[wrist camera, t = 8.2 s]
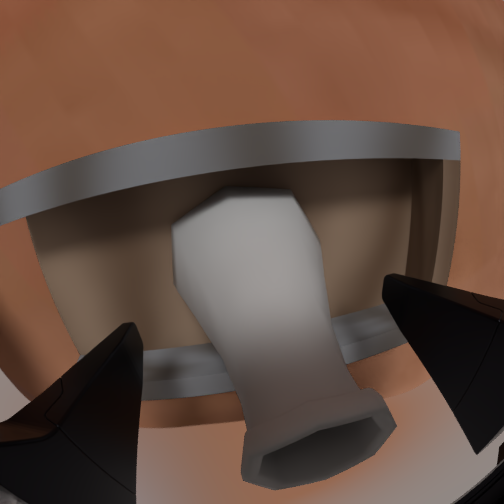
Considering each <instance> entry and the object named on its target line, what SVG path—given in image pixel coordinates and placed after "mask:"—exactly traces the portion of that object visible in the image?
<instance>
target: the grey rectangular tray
mask: <svg viewBox="0 0 504 504" xmlns="http://www.w3.org/2000/svg"><path fill="white" fill-rule="evenodd" d="M225 186H233V187H256V188H275V189H290V190H291V191H292V193H293V194H294V196H295V198H296V199H297V201H298V203H299V204H300V206H301V208H302V210H303V211H304V213H305V215H306V216H307V218H308V220H309V222H310V223H311V225H312V227H313V229H314V230H315V232H316V234H317V236H318V238H319V239H320V245H321V251H322V260H323V269H324V278H325V284H326V290H327V296H328V303H329V310H330V317H331V324H332V327H333V329H334V332H335V335H336V338H337V340H338V343H339V346H340V349H341V352H342V355H343V357H344V360H345V363H346V364H349V363H352V362H355V361H358V360H361V359H364V358H367V357H370V356H373V355H376V354H379V353H381V352H384V351H387V350H389V349H392V348H395V347H397V346H400V345H402V344H405V343H407V342H408V341H407V340H406V338H405V337H404V336H403V334H402V333H401V331H400V330H399V328H398V326H397V325H396V323H395V321H394V319H393V317H392V316H391V314H390V312H389V310H388V309H387V307H386V305H385V304H384V302H383V300H382V287H383V279H384V277H385V276H386V275H388V274H392V273H396V274H400V275H404V276H408V277H412V278H417V279H421V280H425V281H429V282H433V283H437V284H441V285H445V286H447V281H448V277H449V272H450V267H451V261H452V255H453V249H454V243H455V236H456V228H457V218H458V208H459V193H460V132H458V131H452V130H446V129H440V128H433V127H426V126H418V125H409V124H399V123H387V122H371V121H345V120H312V121H284V122H268V123H256V124H245V125H236V126H227V127H219V128H212V129H205V130H198V131H192V132H186V133H180V134H175V135H169V136H164V137H159V138H154V139H150V140H145V141H141V142H137V143H132V144H128V145H124V146H120V147H116V148H113V149H109V150H105V151H102V152H98V153H95V154H92V155H88V156H85V157H82V158H79V159H76V160H72V161H69V162H66V163H64V164H61V165H58V166H55V167H52V168H50V169H47V170H44V171H42V172H39V173H36V174H34V175H31V176H29V177H27V178H24V179H22V180H19V181H17V182H15V183H12V184H10V185H8V186H6V187H4V188H1V189H0V225H3V224H6V223H9V222H11V221H14V220H17V219H20V218H23V217H26V220H27V224H28V228H29V231H30V235H31V238H32V242H33V245H34V248H35V252H36V255H37V258H38V261H39V264H40V267H41V269H42V272H43V275H44V278H45V280H46V283H47V286H48V288H49V291H50V293H51V295H52V298H53V300H54V303H55V305H56V307H57V310H58V312H59V314H60V316H61V318H62V320H63V323H64V325H65V327H66V329H67V331H68V333H69V335H70V337H71V339H72V341H73V343H74V345H75V346H76V348H77V350H78V352H79V354H80V357H79V359H78V361H79V360H80V359H82V358H83V357H84V356H85V355H86V354H87V353H88V352H90V351H91V350H92V349H93V348H94V347H95V346H97V345H98V344H99V343H100V342H101V341H102V340H104V339H105V338H106V337H107V336H108V335H109V334H111V333H112V332H113V331H114V330H115V329H117V328H118V327H119V326H120V325H121V324H123V323H127V322H134V323H135V324H136V326H137V328H138V331H139V333H140V336H141V338H142V341H143V346H144V350H143V389H142V398H141V401H144V400H161V399H174V398H185V397H194V396H203V395H211V394H218V393H225V392H231V391H236V390H235V388H234V386H233V383H232V381H231V379H230V376H229V374H228V371H227V369H226V366H225V364H224V362H223V359H222V358H221V356H220V355H219V353H218V352H217V350H216V349H215V347H214V345H213V344H212V342H211V341H210V339H209V338H208V336H207V335H206V333H205V332H204V330H203V328H202V327H201V325H200V324H199V322H198V320H197V319H196V317H195V316H194V314H193V313H192V311H191V310H190V309H189V307H188V306H187V304H186V303H185V301H184V300H183V298H182V297H181V296H180V294H179V293H178V291H177V289H176V288H175V286H174V284H173V266H172V237H171V225H172V224H173V223H174V222H176V221H177V220H178V219H180V218H181V217H183V216H184V215H185V214H187V213H188V212H189V211H191V210H192V209H194V208H195V207H196V206H198V205H199V204H201V203H202V202H203V201H205V200H206V199H208V198H209V197H211V196H212V195H213V194H215V193H216V192H218V191H219V190H221V189H222V188H224V187H225ZM78 361H77V362H78Z"/></svg>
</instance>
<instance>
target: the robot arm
mask: <svg viewBox="0 0 504 504" xmlns="http://www.w3.org/2000/svg"><path fill="white" fill-rule="evenodd" d="M382 300H383V302H384V304H385V305H386V307H387V309H388V310H389V312H390V314H391V316H392V317H393V319H394V321H395V323H396V325H397V326H398V328H399V330H400V331H401V333H402V334H403V336H404V337H405V338H406V340H407V341H408V343H409V344H410V346H411V347H412V349H413V350H414V352H415V353H416V355H417V356H418V358H419V359H420V361H421V362H422V364H423V365H424V367H425V368H426V370H427V371H428V373H429V374H430V376H431V377H432V379H433V381H434V382H435V384H436V385H437V387H438V388H439V390H440V392H441V393H442V395H443V397H444V398H445V400H446V402H447V403H448V405H449V407H450V408H451V410H452V412H453V413H454V416H455V417H456V419H457V421H458V422H459V424H460V426H461V428H462V430H463V431H464V433H465V435H466V437H467V439H468V440H469V443H470V445H471V446H472V448H473V450H474V452H475V453H476V454H479V453H480V452H481V451H482V450H483V449H484V448H486V447H487V446H488V445H489V444H490V443H491V442H492V441H493V440H494V439H496V438H497V437H498V436H499V435H500V434H501V433H502V432H503V431H504V300H503V299H498V298H493V297H489V296H485V295H480V294H476V293H473V292H468V291H465V290H461V289H457V288H453V287H449V286H445V285H441V284H437V283H433V282H429V281H425V280H421V279H417V278H412V277H408V276H404V275H400V274H396V273H392V274H388V275H386V276H385V277H384V279H383V287H382ZM143 350H144V346H143V341H142V338H141V336H140V333H139V331H138V328H137V326H136V324H135V323H134V322H127V323H123V324H121V325H120V326H119V327H118V328H117V329H115V330H114V331H113V332H112V333H111V334H109V335H108V336H107V337H106V338H105V339H104V340H102V341H101V342H100V343H99V344H98V345H97V346H95V347H94V348H93V349H92V350H91V351H90V352H88V353H87V354H86V355H85V356H84V357H83V358H82V359H80V360H79V361H78V362H77V363H76V364H75V365H74V366H72V367H71V368H70V369H69V370H68V371H67V372H66V373H65V374H63V375H62V376H61V378H59V379H58V380H57V381H55V382H54V383H53V384H52V385H51V386H50V387H49V388H47V389H46V390H45V391H44V392H43V393H41V394H40V395H39V396H38V397H36V398H35V399H34V400H33V401H31V402H30V403H29V404H27V405H26V406H25V407H24V408H22V409H21V410H20V411H18V412H17V413H16V414H15V415H13V416H12V417H11V418H9V419H8V420H6V421H3V422H0V504H136V466H137V465H136V464H137V445H138V430H139V418H140V408H141V398H142V389H143ZM452 504H504V442H503V443H502V445H501V446H500V447H499V454H498V461H497V466H496V467H495V468H494V469H493V470H492V471H491V472H490V473H489V474H488V475H486V476H485V477H484V478H483V479H482V480H481V481H480V482H478V483H477V484H476V485H475V486H474V487H472V488H471V489H470V490H469V491H467V492H466V493H465V494H464V495H462V496H461V497H460V498H458V499H457V500H456V501H454V502H453V503H452Z"/></svg>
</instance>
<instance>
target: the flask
mask: <svg viewBox="0 0 504 504" xmlns="http://www.w3.org/2000/svg"><path fill="white" fill-rule="evenodd" d="M171 237H172V266H173V284H174V286H175V288H176V289H177V291H178V293H179V294H180V296H181V297H182V298H183V300H184V301H185V303H186V304H187V306H188V307H189V309H190V310H191V311H192V313H193V314H194V316H195V317H196V319H197V320H198V322H199V324H200V325H201V327H202V328H203V330H204V332H205V333H206V335H207V336H208V338H209V339H210V341H211V342H212V344H213V345H214V347H215V349H216V350H217V352H218V353H219V355H220V356H221V358H222V359H223V362H224V364H225V366H226V369H227V371H228V374H229V376H230V379H231V381H232V383H233V386H234V388H235V390H236V393H237V395H238V397H239V400H240V402H241V404H242V409H243V414H244V418H245V423H246V427H247V431H246V433H245V436H244V446H243V455H242V464H241V475H242V479H243V481H246V482H248V483H252V484H255V485H258V486H261V487H265V488H268V489H272V490H279V489H285V488H290V487H296V486H300V485H305V484H309V483H314V482H317V481H322V480H326V479H328V478H330V477H332V476H335V475H337V474H339V473H341V472H343V471H345V470H347V469H349V468H351V467H353V466H355V465H357V464H359V463H360V462H363V461H364V460H366V459H368V458H370V457H371V456H373V455H375V453H376V452H377V451H378V450H379V449H380V447H381V446H382V445H383V444H384V442H385V441H386V440H387V438H388V437H389V436H390V435H391V433H392V432H393V431H394V429H395V428H396V427H397V425H396V423H395V421H394V419H393V417H392V415H391V413H390V411H389V409H388V407H387V405H386V403H385V401H384V399H383V398H382V396H381V395H380V394H379V393H378V392H376V391H375V390H374V389H372V388H366V389H362V390H360V388H359V387H358V386H357V384H356V383H355V381H354V379H353V378H352V376H351V374H350V372H349V371H348V369H347V366H346V363H345V360H344V357H343V355H342V352H341V349H340V346H339V343H338V340H337V338H336V335H335V332H334V329H333V327H332V324H331V317H330V310H329V303H328V296H327V290H326V284H325V278H324V269H323V260H322V251H321V245H320V239H319V238H318V236H317V234H316V232H315V230H314V229H313V227H312V225H311V223H310V222H309V220H308V218H307V216H306V215H305V213H304V211H303V210H302V208H301V206H300V204H299V203H298V201H297V199H296V198H295V196H294V194H293V193H292V191H291V190H290V189H275V188H256V187H233V186H225V187H224V188H222V189H221V190H219V191H218V192H216V193H215V194H213V195H212V196H211V197H209V198H208V199H206V200H205V201H203V202H202V203H201V204H199V205H198V206H196V207H195V208H194V209H192V210H191V211H189V212H188V213H187V214H185V215H184V216H183V217H181V218H180V219H178V220H177V221H176V222H174V223H173V224H172V225H171Z"/></svg>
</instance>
